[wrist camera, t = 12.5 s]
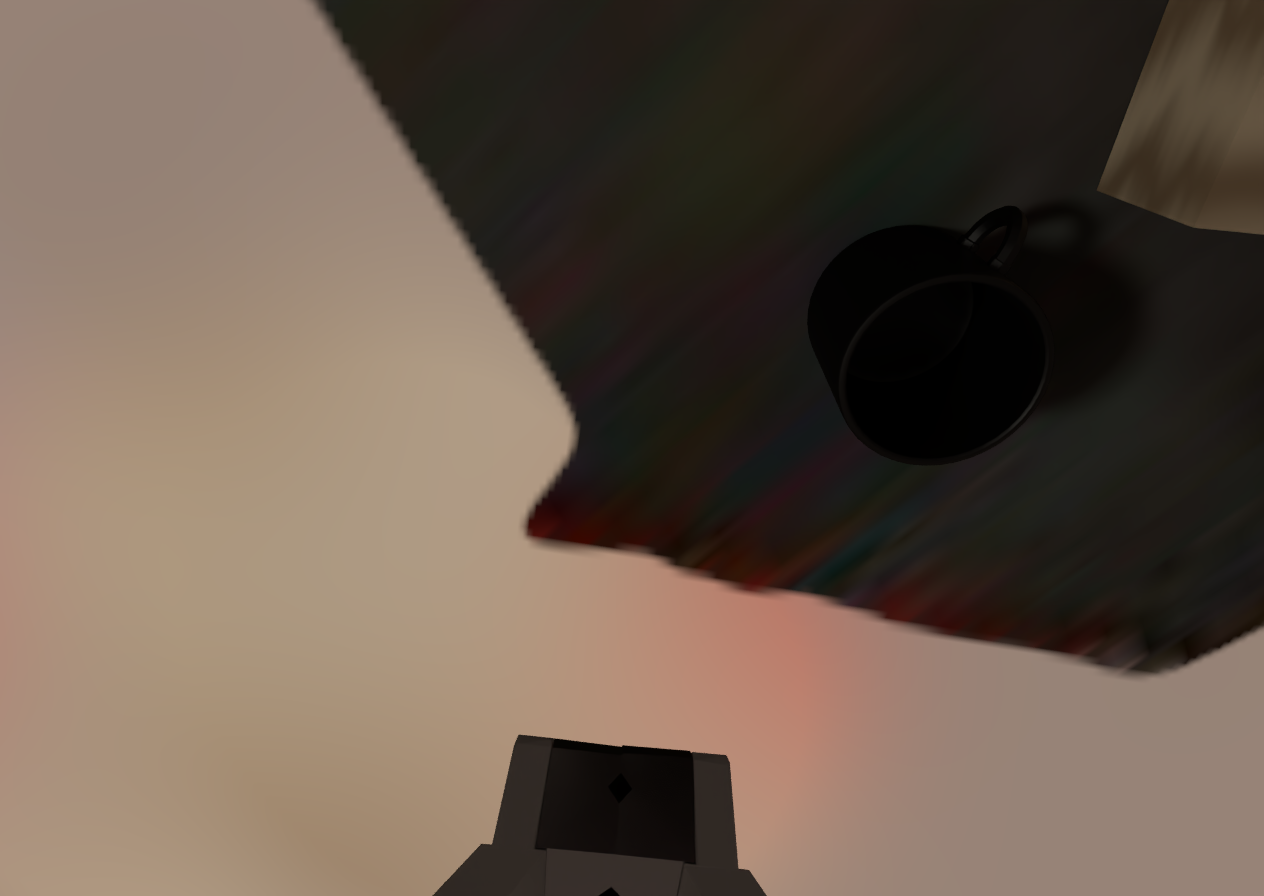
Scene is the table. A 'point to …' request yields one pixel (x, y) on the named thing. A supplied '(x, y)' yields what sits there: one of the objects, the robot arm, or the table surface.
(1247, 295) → the table surface
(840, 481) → the table surface
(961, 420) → the mug
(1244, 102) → the oak block
